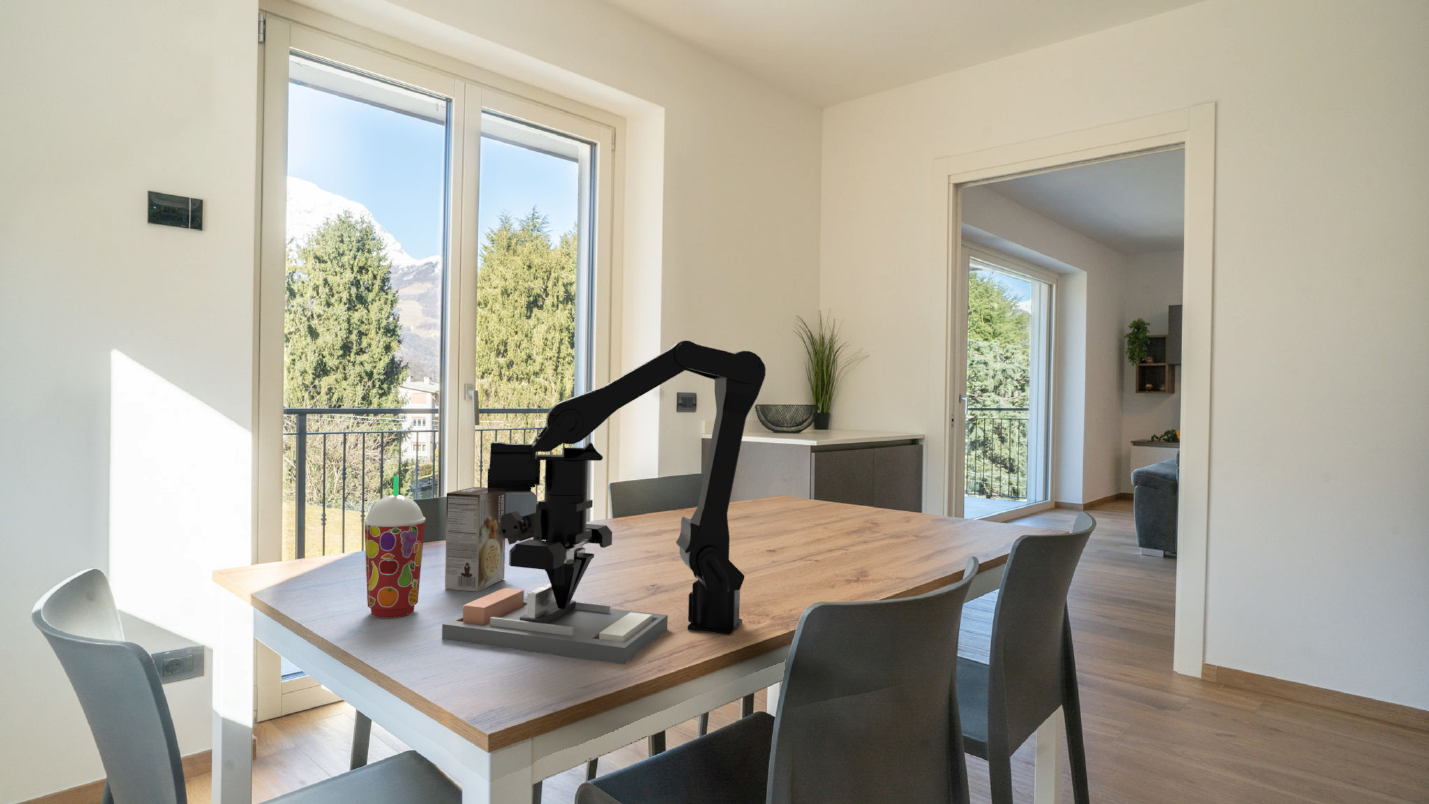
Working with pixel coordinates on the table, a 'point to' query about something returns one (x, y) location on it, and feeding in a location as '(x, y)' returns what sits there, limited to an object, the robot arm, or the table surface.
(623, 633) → the button white
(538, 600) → the slider paddle
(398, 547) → the smoothie
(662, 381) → the robot arm
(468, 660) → the table surface
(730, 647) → the table surface
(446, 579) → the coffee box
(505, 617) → the panel
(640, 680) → the table surface
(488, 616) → the button terracotta
